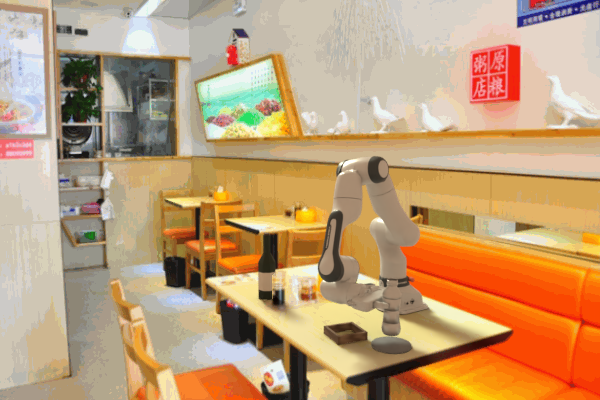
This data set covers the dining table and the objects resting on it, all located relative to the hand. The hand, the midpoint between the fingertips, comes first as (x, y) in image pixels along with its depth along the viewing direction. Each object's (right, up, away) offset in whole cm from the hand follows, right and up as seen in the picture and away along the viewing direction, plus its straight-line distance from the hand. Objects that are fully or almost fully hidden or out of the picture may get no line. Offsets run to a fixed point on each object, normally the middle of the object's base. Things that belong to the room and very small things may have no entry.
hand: (393, 303), depth 187 cm
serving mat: (-1, -15, +2) cm, 16 cm away
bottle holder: (-16, -14, +11) cm, 24 cm away
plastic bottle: (-1, -12, +2) cm, 12 cm away
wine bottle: (-48, -9, +59) cm, 77 cm away
